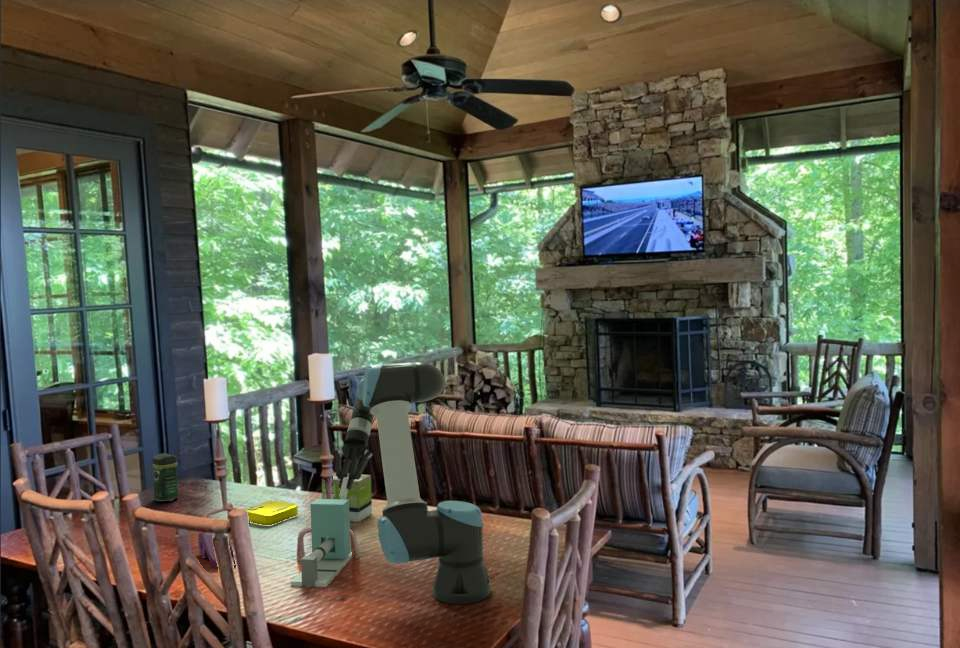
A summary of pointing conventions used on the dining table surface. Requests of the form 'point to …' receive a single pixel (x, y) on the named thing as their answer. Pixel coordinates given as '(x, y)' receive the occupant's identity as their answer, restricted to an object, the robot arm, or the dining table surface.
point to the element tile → (271, 512)
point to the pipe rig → (319, 567)
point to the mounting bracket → (209, 548)
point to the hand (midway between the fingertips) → (342, 497)
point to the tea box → (354, 496)
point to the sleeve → (331, 526)
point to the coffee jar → (165, 476)
